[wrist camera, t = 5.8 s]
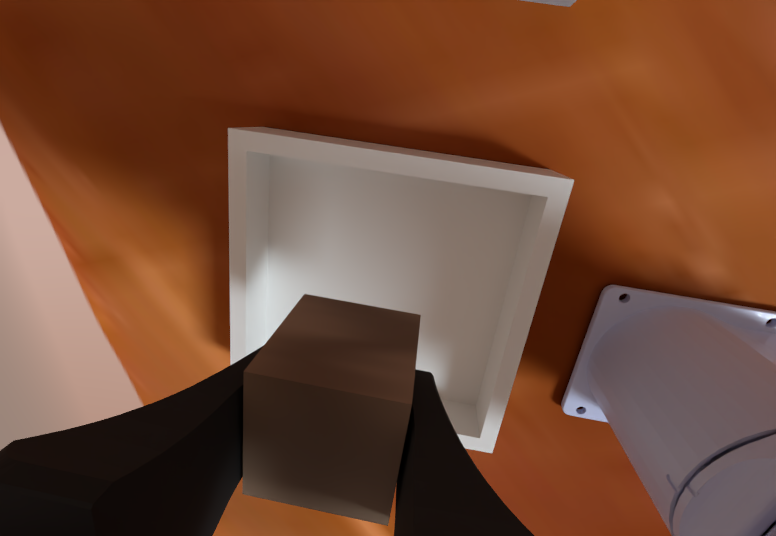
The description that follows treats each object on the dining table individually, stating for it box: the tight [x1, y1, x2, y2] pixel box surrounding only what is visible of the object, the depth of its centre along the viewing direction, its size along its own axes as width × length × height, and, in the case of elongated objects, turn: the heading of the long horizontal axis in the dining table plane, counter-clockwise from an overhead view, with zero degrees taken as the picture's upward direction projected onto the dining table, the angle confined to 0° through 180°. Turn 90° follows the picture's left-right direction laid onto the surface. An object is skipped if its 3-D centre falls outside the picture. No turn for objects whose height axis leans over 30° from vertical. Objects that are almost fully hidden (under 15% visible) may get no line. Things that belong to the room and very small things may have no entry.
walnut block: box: [243, 294, 421, 526], centre depth 12 cm, size 4×4×4 cm
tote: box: [228, 127, 574, 453], centre depth 20 cm, size 14×14×4 cm
